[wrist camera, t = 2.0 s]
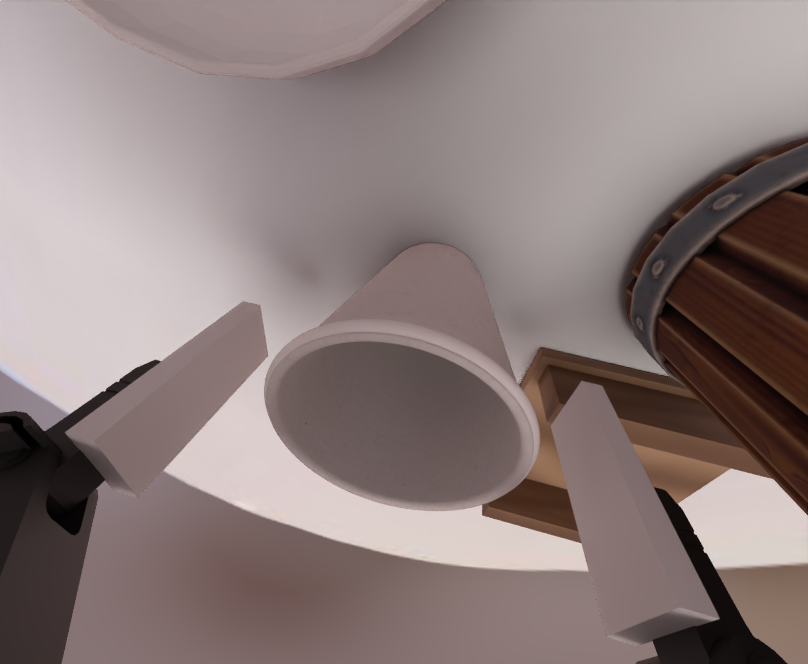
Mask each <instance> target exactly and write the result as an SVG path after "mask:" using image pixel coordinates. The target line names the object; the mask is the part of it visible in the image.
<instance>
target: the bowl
mask: <svg viewBox="0 0 808 664" xmlns="http://www.w3.org/2000/svg"><path fill="white" fill-rule="evenodd" d="M66 1H68V2H69V3H70V4H72V5H73V6H74V7H76V8H77V9H78V10H80V11H81V12H82V13H84V14H85V15H86V16H88V17H89V18H90V19H92V20H93V21H95V22H96V23H97V24H99V25H100V26H101V27H103V28H104V29H105V30H107V31H108V32H109V33H111V34H112V35H113V36H115V37H116V38H118V39H120V40H122V41H125V42H127V43H129V44H132V45H134V46H137V47H139V48H141V49H144V50H146V51H148V52H151V53H153V54H155V55H158V56H160V57H163V58H165V59H167V60H170V61H172V62H174V63H177V64H179V65H181V66H184V67H186V68H188V69H191V70H193V71H196V72H198V73H200V74H213V75H226V76H239V77H252V78H265V79H278V80H281V79H295V78H301V77H304V76H307V75H311V74H314V73H317V72H320V71H324V70H327V69H330V68H334V67H337V66H340V65H343V64H347V63H350V62H353V61H356V60H360V59H363V58H366V57H369V56H373V55H374V54H375V53H377V52H378V51H379V50H381V49H382V48H384V47H385V46H386V45H388V44H389V43H390V42H392V41H393V40H394V39H396V38H397V37H398V36H400V35H401V34H402V33H404V32H405V31H406V30H408V29H409V28H410V27H412V26H413V25H414V24H416V23H417V22H418V21H420V20H421V19H422V18H424V17H425V16H426V15H428V14H429V13H430V12H432V11H433V10H434V9H436V8H437V7H438V6H440V5H441V4H442V3H444V2H445V1H446V0H66Z"/></svg>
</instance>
